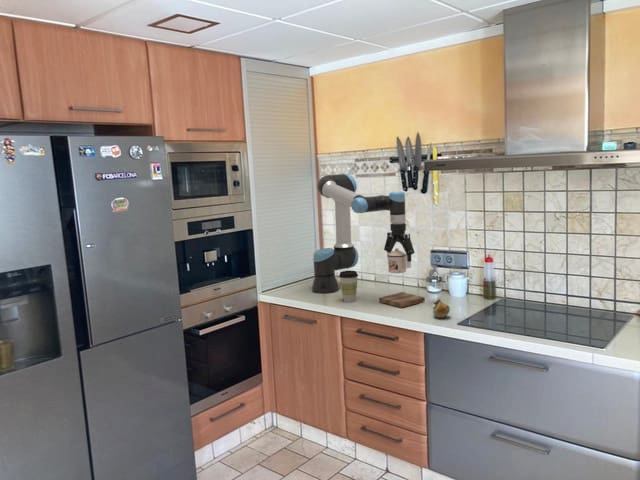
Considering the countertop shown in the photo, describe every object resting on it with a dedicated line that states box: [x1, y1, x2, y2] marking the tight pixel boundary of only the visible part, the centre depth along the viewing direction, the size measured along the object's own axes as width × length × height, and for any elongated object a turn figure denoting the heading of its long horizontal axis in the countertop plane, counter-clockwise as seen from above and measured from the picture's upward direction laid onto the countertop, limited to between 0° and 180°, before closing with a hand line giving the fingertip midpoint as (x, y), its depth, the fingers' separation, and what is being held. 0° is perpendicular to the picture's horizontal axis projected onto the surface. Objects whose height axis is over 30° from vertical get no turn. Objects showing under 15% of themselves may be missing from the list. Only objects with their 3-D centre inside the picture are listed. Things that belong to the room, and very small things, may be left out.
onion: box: [432, 298, 451, 319], centre depth 235 cm, size 8×8×8 cm
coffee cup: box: [338, 270, 359, 303], centre depth 272 cm, size 10×10×15 cm
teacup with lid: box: [387, 248, 407, 274], centre depth 261 cm, size 12×9×12 cm
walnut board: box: [378, 291, 426, 309], centre depth 264 cm, size 16×16×2 cm
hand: (399, 266), depth 261 cm, fingers closed on teacup with lid, 12 cm apart
